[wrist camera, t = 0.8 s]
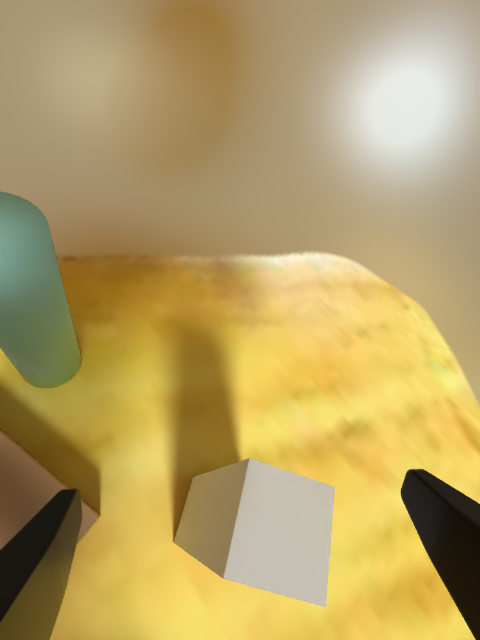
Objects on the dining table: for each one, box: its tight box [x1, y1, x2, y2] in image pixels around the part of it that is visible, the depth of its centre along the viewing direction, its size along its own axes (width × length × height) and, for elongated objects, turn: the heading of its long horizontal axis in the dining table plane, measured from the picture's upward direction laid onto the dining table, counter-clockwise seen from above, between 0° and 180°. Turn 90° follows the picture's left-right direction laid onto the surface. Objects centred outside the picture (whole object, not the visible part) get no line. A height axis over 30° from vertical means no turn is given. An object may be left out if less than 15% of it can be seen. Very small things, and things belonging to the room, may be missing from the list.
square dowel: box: [173, 458, 335, 607], centre depth 17 cm, size 4×4×12 cm
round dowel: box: [0, 192, 81, 388], centre depth 18 cm, size 4×4×14 cm
